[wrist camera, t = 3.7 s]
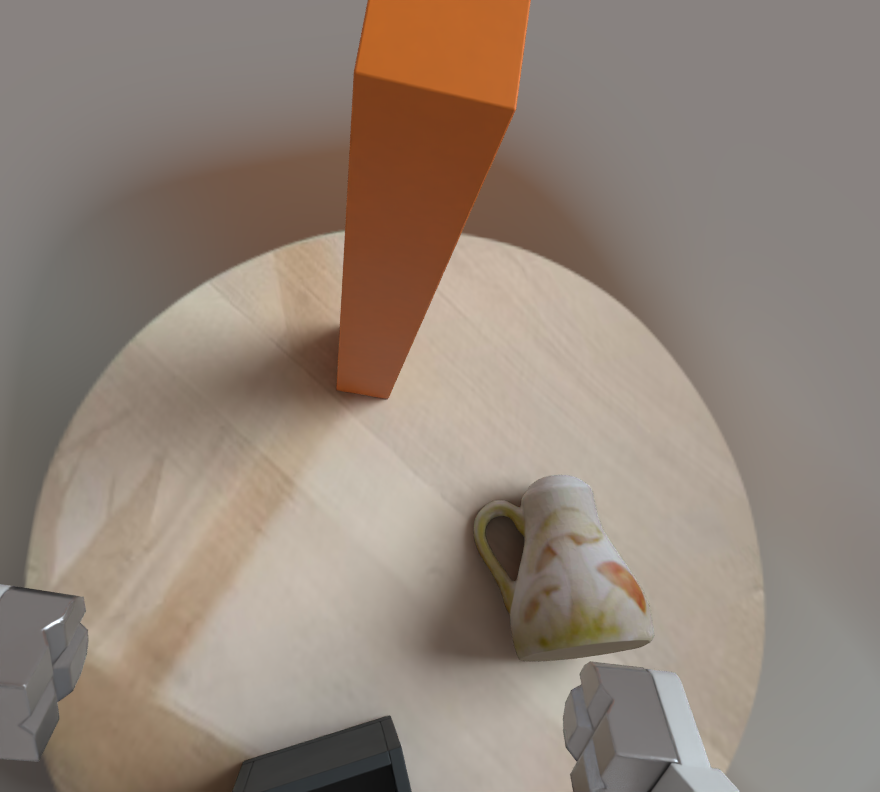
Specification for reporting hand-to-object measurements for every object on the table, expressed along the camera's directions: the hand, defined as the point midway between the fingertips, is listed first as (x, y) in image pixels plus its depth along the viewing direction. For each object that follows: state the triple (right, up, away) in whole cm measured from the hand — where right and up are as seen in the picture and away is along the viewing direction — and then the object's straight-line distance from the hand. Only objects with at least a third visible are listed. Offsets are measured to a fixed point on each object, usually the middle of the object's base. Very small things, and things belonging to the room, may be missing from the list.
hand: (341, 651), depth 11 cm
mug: (+8, -6, +28) cm, 30 cm away
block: (-3, +6, +29) cm, 29 cm away
